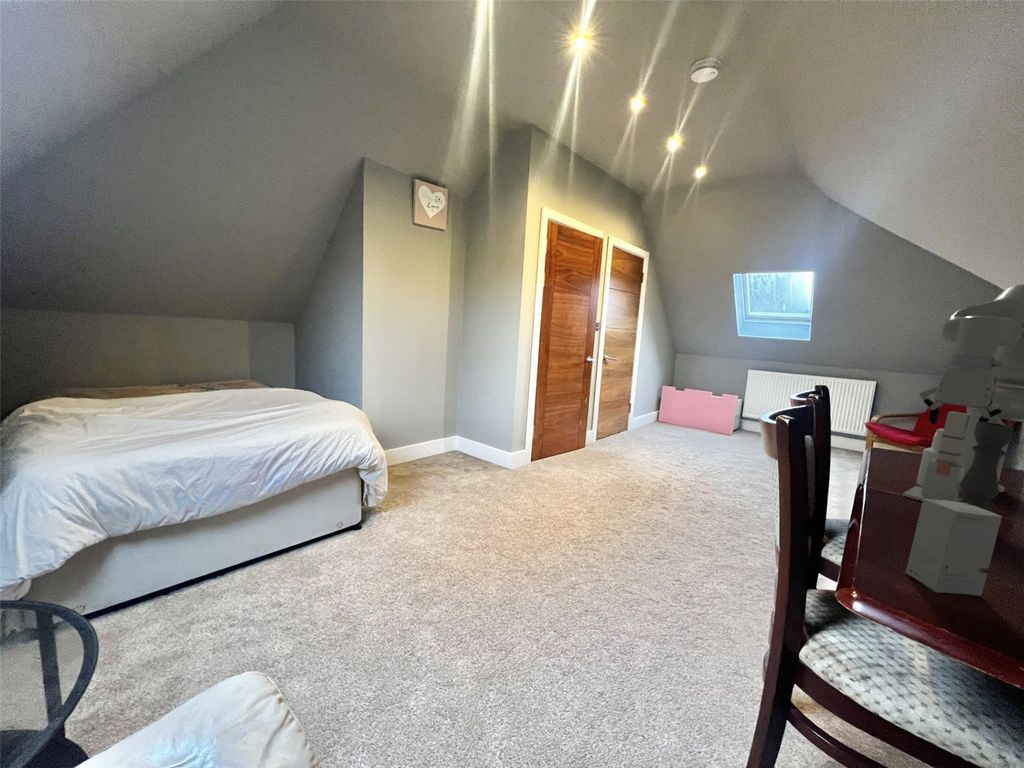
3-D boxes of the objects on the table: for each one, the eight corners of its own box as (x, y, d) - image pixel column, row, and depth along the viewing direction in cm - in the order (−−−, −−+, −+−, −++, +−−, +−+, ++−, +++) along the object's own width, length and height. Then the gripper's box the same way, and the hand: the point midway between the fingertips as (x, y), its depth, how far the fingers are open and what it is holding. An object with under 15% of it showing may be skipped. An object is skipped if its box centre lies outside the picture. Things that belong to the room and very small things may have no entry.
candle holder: (997, 532, 96) (1024, 429, 92) (970, 530, 96) (996, 427, 92) (968, 519, 102) (993, 422, 98) (943, 517, 102) (967, 420, 99)
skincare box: (935, 593, 70) (955, 512, 68) (902, 572, 76) (920, 497, 74) (984, 597, 70) (1006, 515, 68) (947, 575, 76) (966, 500, 74)
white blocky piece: (915, 489, 122) (923, 451, 120) (974, 505, 112) (985, 464, 110) (902, 496, 115) (911, 456, 113) (964, 514, 105) (975, 470, 103)
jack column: (936, 471, 115) (950, 411, 112) (955, 476, 112) (971, 414, 109) (932, 473, 113) (947, 412, 110) (952, 478, 110) (968, 415, 107)
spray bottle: (946, 493, 120) (961, 434, 117) (914, 485, 125) (927, 428, 122) (948, 488, 124) (962, 431, 121) (917, 481, 129) (930, 425, 126)
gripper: (1025, 367, 103) (1007, 435, 105) (929, 359, 117) (916, 419, 120) (1021, 367, 98) (1002, 438, 101) (921, 359, 113) (908, 421, 115)
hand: (955, 427), depth 110 cm, fingers open, 8 cm apart
